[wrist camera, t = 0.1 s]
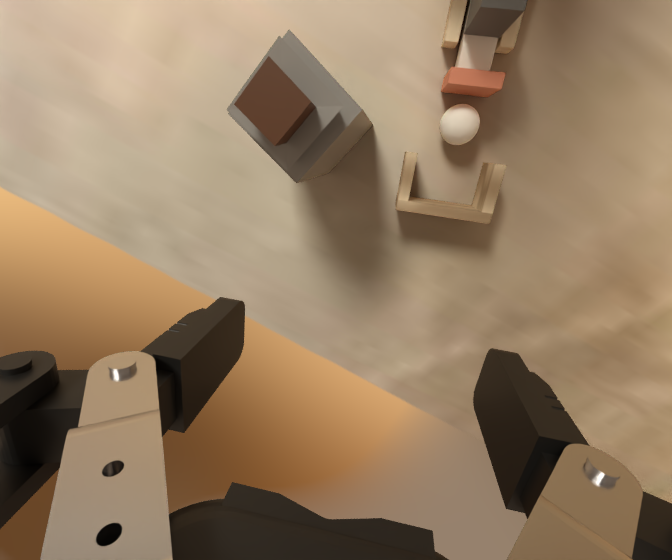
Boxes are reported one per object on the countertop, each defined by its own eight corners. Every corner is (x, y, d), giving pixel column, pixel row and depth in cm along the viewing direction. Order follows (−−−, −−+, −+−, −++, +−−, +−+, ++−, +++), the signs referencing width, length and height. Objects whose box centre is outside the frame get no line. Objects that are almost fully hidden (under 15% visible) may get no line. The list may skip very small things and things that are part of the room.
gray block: (468, -41, 29) (495, -108, 22) (521, -37, 29) (567, -104, 21) (440, 92, 33) (455, 73, 26) (487, 97, 33) (515, 80, 25)
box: (405, 151, 36) (406, 151, 32) (493, 163, 35) (506, 165, 31) (395, 203, 38) (395, 209, 34) (478, 216, 37) (489, 224, 33)
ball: (442, 104, 34) (447, 98, 30) (479, 108, 33) (489, 103, 30) (433, 143, 35) (438, 142, 32) (469, 147, 35) (477, 147, 31)
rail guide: (460, -48, 30) (465, -61, 28) (532, -43, 29) (542, -56, 27) (441, 47, 32) (444, 40, 30) (506, 54, 32) (514, 47, 30)
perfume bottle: (373, 124, 35) (355, 100, 19) (328, 173, 38) (277, 189, 21) (326, 74, 34) (264, 0, 18) (284, 126, 37) (193, 105, 20)
